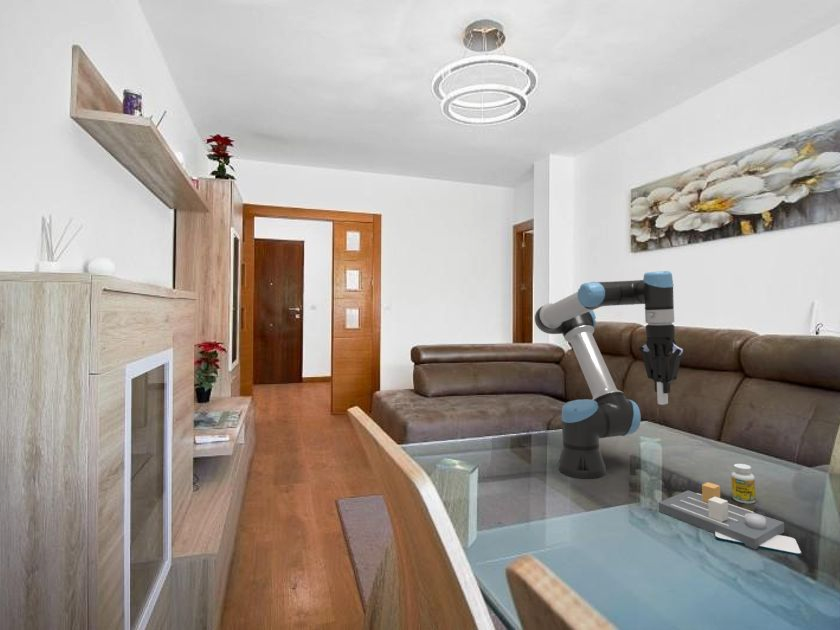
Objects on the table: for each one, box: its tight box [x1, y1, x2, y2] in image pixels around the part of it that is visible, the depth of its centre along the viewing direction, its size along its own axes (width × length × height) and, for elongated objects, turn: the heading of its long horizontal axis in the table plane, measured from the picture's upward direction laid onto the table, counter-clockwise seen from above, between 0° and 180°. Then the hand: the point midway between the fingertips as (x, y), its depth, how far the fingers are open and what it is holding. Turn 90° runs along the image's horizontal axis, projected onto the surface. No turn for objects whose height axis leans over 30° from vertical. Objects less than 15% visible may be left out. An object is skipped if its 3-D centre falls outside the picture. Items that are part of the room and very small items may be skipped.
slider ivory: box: [708, 497, 729, 522], centre depth 111 cm, size 3×3×4 cm
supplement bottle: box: [730, 463, 757, 505], centre depth 126 cm, size 5×5×10 cm
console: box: [658, 489, 785, 551], centre depth 115 cm, size 23×14×4 cm, turn 29°
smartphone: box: [713, 531, 803, 556], centre depth 106 cm, size 8×1×16 cm
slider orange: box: [701, 481, 721, 503], centre depth 120 cm, size 3×3×4 cm
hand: (662, 403), depth 132 cm, fingers closed
